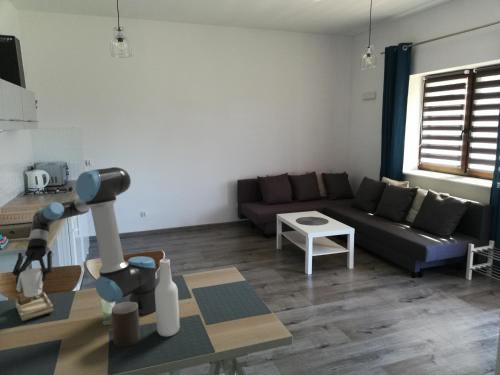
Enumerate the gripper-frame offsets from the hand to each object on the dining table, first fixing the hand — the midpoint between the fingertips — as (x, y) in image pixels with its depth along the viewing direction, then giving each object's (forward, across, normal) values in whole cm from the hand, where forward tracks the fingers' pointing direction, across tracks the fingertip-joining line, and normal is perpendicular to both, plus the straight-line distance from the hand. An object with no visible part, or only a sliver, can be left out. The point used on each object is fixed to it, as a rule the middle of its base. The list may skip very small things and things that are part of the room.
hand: (29, 289), depth 154 cm
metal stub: (-2, +2, -16) cm, 16 cm away
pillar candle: (+28, -42, +9) cm, 51 cm away
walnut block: (0, +6, -14) cm, 15 cm away
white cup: (0, 0, -5) cm, 5 cm away
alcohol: (+26, -58, +8) cm, 64 cm away
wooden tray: (+5, +1, -14) cm, 15 cm away
